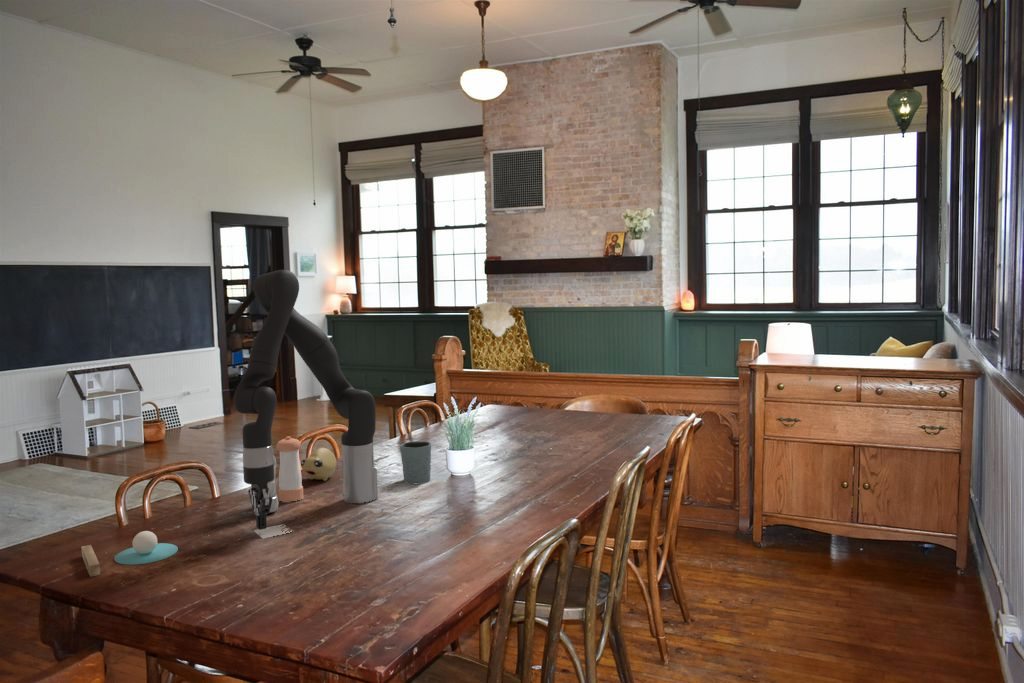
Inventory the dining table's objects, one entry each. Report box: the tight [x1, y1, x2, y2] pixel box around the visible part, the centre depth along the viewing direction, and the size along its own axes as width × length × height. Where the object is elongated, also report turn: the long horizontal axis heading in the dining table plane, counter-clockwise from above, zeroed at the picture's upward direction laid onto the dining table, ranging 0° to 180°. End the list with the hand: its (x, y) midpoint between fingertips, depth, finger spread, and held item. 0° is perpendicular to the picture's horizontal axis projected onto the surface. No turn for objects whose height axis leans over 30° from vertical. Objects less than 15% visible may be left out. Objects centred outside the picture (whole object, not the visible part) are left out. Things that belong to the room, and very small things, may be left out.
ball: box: [131, 530, 158, 554], centre depth 186 cm, size 6×6×6 cm
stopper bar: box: [81, 544, 101, 578], centre depth 179 cm, size 2×16×2 cm, turn 35°
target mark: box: [113, 542, 179, 566], centre depth 186 cm, size 14×14×1 cm
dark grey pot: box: [399, 440, 432, 484], centre depth 249 cm, size 10×10×12 cm
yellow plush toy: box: [300, 447, 337, 482], centre depth 252 cm, size 10×12×11 cm
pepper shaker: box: [275, 435, 304, 503], centre depth 230 cm, size 7×7×19 cm
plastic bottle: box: [267, 454, 280, 514], centre depth 217 cm, size 6×7×20 cm
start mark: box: [253, 523, 293, 540], centre depth 201 cm, size 8×8×1 cm
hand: (261, 528), depth 199 cm, fingers closed
